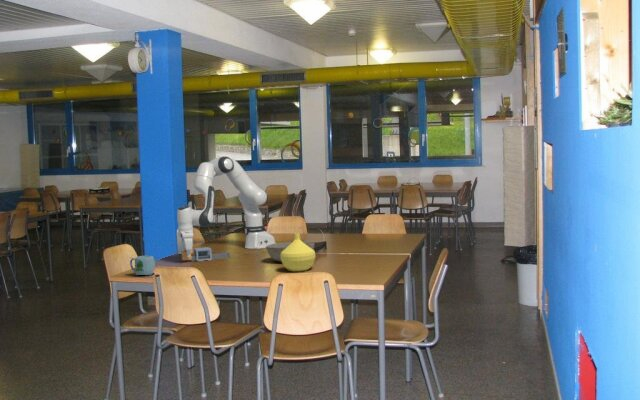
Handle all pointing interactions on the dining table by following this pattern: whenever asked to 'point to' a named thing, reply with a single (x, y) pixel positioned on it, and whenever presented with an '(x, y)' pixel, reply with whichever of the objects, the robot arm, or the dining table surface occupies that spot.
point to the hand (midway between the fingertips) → (187, 256)
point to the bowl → (281, 249)
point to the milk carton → (180, 244)
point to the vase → (297, 255)
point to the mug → (143, 265)
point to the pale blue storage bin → (202, 253)
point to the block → (184, 255)
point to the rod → (214, 256)
